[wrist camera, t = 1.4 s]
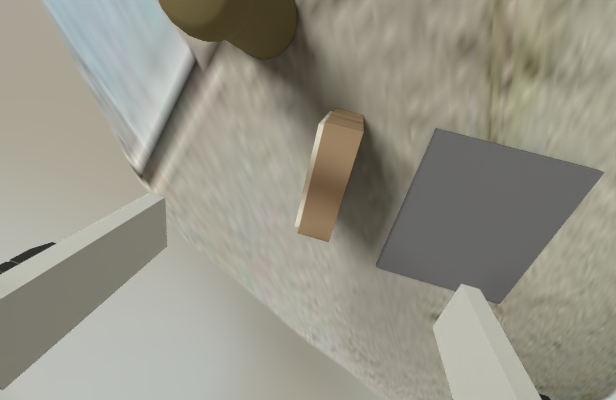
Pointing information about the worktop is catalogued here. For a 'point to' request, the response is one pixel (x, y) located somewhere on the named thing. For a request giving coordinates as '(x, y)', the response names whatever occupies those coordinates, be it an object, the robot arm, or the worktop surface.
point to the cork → (237, 22)
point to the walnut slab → (329, 172)
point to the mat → (481, 213)
